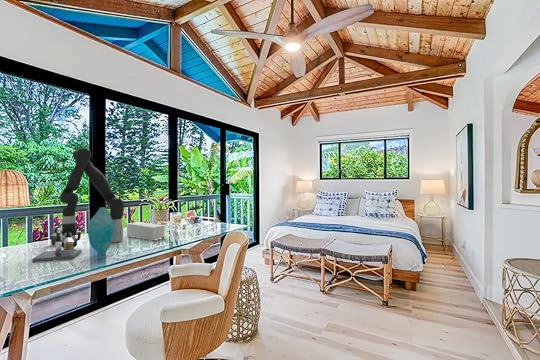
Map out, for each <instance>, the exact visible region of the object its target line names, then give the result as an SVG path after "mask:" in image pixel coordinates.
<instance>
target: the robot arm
mask: <svg viewBox="0 0 540 360" xmlns="http://www.w3.org/2000/svg"><path fill="white" fill-rule="evenodd" d="M91 158H92V153H91V150H90V149H88V148H86V147H81V148H78V149H76V150H74V151H73V152H72V159H74V161H75V165H74V167H73V169H72V171H71V172H70V175H69V177H68V179H67V183H66V185H65V187H64V189H63V190H62V191H61V193H60V196H59V200H60V202H61V203H62V204H66V206H64V207H63V208H62V219H61V227H62V232H58V233H56V235H57V240H58V242H62V247H61V249H63V248H64V243H65V242H64V240H65V239H66V238H68V239H69V238H71V239H72V240H73V242H74V247H75V248H76V247H77V245H78V241H80V240H81V238H82V237H81V236H82V231H81V230H80V231H79V230H78V231H77V219H76V217H77V216H76V208H77V205H78V202H79V196H78V195H77V193H75V191H77V190H79V187H80V185H81V181H82V178H83V175H84V173H85V174H86V175H85V176H87V177H88V178H89V180H90V182H91V183H92V185H93V187H94V188H95V189H96V190H97V191H98V192H99V194H100V195H101V196H102V197H103V200H104V201H105V203H106V205H107V206H108V208H109V211H110V212H109V213H110V215H111V218H112V224H113V236H112V241H111V243H119V242H123V240H124V228H123V218H124V217H123V216H124V211H125V210H124V209H125V208H124V205H125V204H124V200H123V199H121V198H119V197H117V196H116V195H115V193H114V192H113V191H112V188H111V186H110V183H109V181H108V180H107V177H106V176H105V174H103V172H101V171H100V170H99V169H98V168H97V167H95V166H94V165H93V163H92V162H91V160H90V159H91ZM61 234H62V235H63V238H62V240H61V236H60V235H61ZM76 235H77V237H76Z"/></svg>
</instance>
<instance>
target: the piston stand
mask: <svg viewBox="0 0 540 360" xmlns="http://www.w3.org/2000/svg"><path fill="white" fill-rule="evenodd" d="M54 246H55V250H49V251H46V250H45V251H43V252H41V253H40V254H38V255H36V256H35V257H33V258H32V260H31V261H32V263H37V262H38V261H42V262H53V260H56V261H66V260H67V261H70V260H71V261H72V260H74V259H76V258H77V257H78V256H79V255H80V254H81V253H82V248H81V249H79V248H78V249H70V250H64V249H62V242H56V243H55V245H54Z"/></svg>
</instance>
